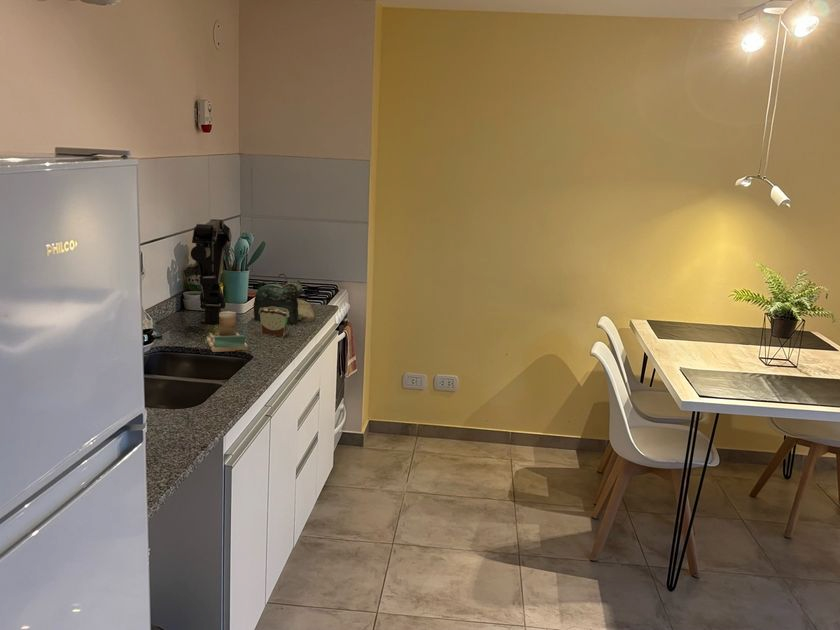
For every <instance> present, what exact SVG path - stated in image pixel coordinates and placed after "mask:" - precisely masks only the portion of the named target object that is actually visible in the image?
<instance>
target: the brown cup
mask: <svg viewBox="0 0 840 630" xmlns="http://www.w3.org/2000/svg"><path fill="white" fill-rule="evenodd" d="M218 324H219V327H218V328H219V329H218V330H219V333H218V336H231V335H236V332H237V312H235V311H228V310H227V311H221V312H220V313H219V323H218Z"/></svg>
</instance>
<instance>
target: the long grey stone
mask: <svg viewBox="0 0 840 630" xmlns="http://www.w3.org/2000/svg"><path fill="white" fill-rule="evenodd" d="M297 302H298V321H299V320H300V321H299V322H301V321H303V322H302V323H312V322H311V321H313V322H314V321H315V317H316V313H315V312H314V309H313V306H312V304H311V303H310V302H308V301H306V300H304V299H299V298H297Z"/></svg>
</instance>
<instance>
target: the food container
mask: <svg viewBox="0 0 840 630" xmlns="http://www.w3.org/2000/svg"><path fill="white" fill-rule="evenodd" d="M259 313H260V320H261V321H260V330H261V331H260V332H261V335H262V334H264V335H263V336H269V335H274V336H273V337H275V336H282V337H284V336H285V337H286V335H287V334H286V333H287V326H288V324H287V318H288V317H289V312H288V310H287V309H285V308H280V307H274V306H270V307H264V308H260V310H259ZM259 313H258V314H259ZM282 337H281V338H282ZM285 337H284V338H285Z"/></svg>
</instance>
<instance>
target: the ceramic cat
mask: <svg viewBox="0 0 840 630" xmlns="http://www.w3.org/2000/svg"><path fill="white" fill-rule="evenodd" d="M281 276H284V277H285V283H283V284H281V283H278V282H275V281H273V280H265V281H262V282H260V284H259V285H258V287H257V291H256V293H255V295H254V301H253V304H252V305H253V317H254V320H255V321H257V320H258V321H259V322H261V320H260V313H259V310H260V308H264V307H280V308H285V309H287V310H288V312H289V317H288V318H287V323H289V324H288V325H293V324H295V325H296V323H297V324H299V323H298V322H299V320H298V302H297V299H299V297H300V296H302V294H303V291H304V289H303V285H302V284H301V282H300V279H297V280H296V281H295V282H290V281H289V280H287V278H288V277H287V276H286V274H284V273H280V274H279V275H278V278H279V277H281ZM265 283H268V284H265ZM269 283H270V284H269ZM263 284H265V285H263ZM258 313H259V314H258Z"/></svg>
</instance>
